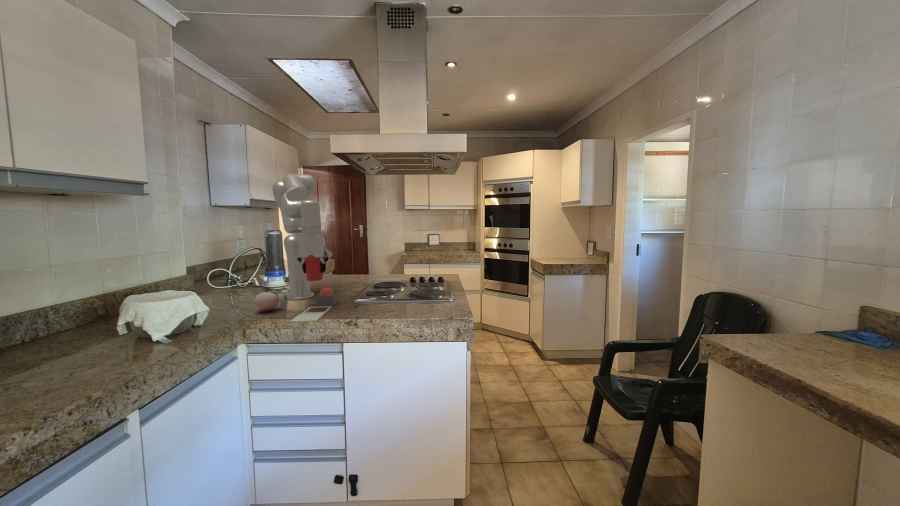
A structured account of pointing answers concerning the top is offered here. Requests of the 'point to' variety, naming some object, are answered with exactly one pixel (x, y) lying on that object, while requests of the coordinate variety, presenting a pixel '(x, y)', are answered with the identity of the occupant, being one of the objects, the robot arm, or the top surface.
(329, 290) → the dome
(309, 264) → the beer can
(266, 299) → the decorative fruit
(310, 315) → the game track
